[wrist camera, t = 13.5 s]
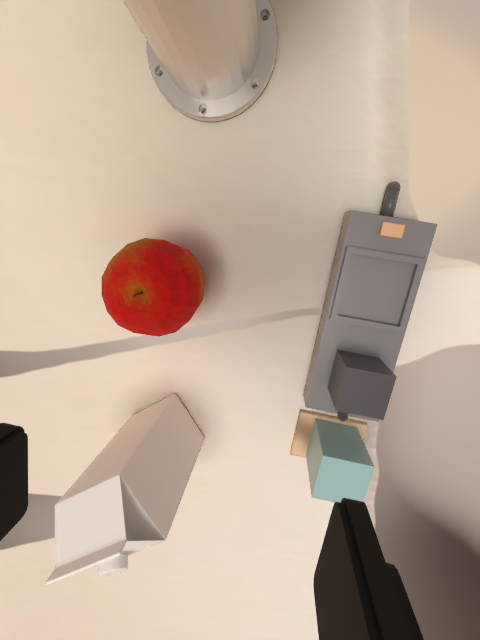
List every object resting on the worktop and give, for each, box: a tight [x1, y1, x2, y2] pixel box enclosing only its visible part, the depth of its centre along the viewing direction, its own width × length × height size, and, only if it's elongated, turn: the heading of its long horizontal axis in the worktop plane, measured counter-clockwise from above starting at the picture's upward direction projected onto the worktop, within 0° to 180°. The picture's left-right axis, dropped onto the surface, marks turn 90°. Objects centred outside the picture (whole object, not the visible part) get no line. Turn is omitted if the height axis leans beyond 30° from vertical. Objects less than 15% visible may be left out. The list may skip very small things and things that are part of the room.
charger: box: [306, 418, 374, 503], centre depth 35 cm, size 5×5×7 cm
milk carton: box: [46, 393, 204, 585], centre depth 32 cm, size 7×7×19 cm
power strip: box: [304, 182, 437, 422], centre depth 31 cm, size 25×8×8 cm, turn 171°
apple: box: [102, 238, 204, 336], centre depth 31 cm, size 9×9×12 cm
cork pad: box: [291, 410, 368, 458], centre depth 39 cm, size 6×8×1 cm
